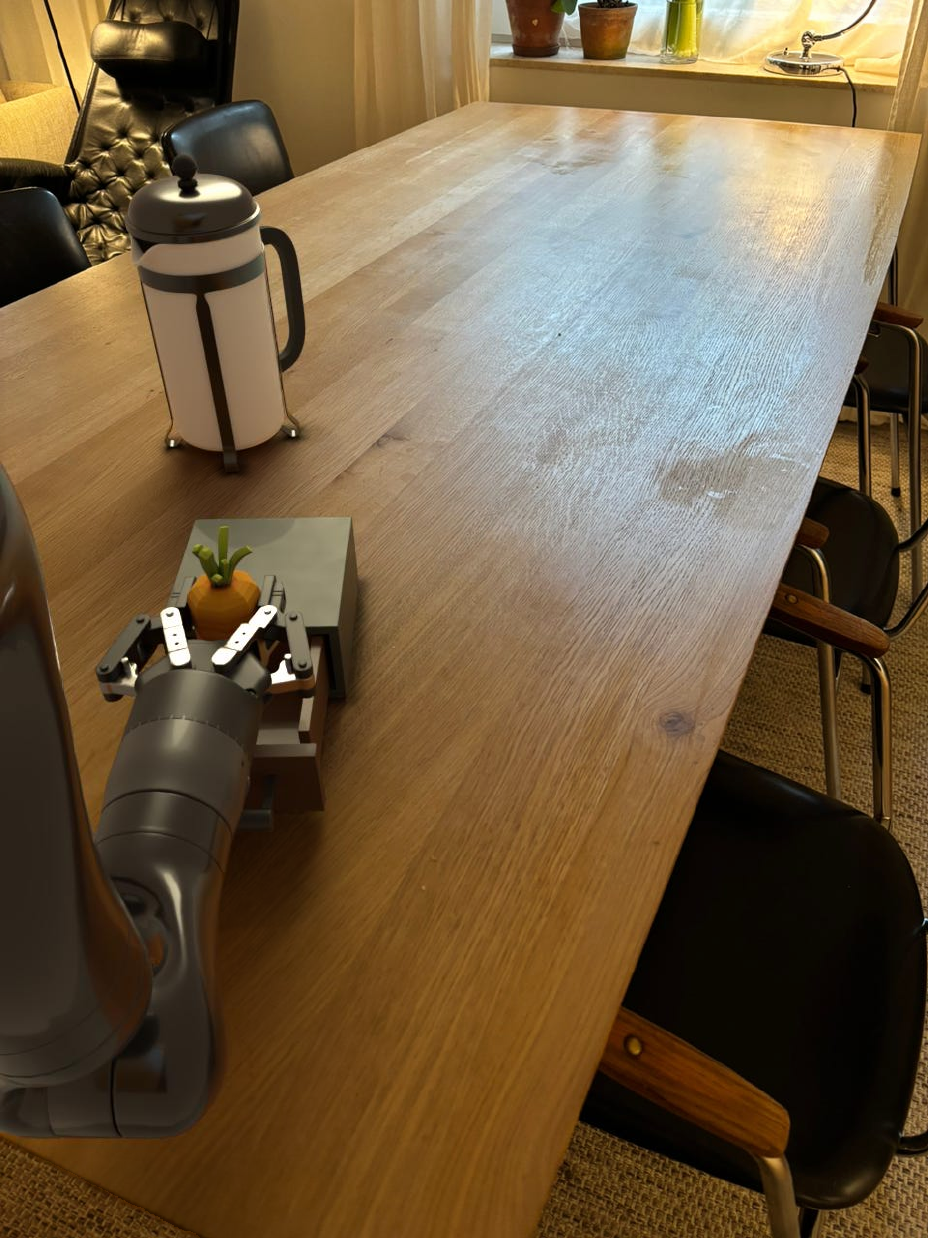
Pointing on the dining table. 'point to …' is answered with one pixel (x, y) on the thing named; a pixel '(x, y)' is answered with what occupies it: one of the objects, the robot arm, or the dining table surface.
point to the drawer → (288, 747)
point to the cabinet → (295, 574)
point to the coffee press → (215, 308)
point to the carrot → (221, 592)
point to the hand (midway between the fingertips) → (232, 586)
